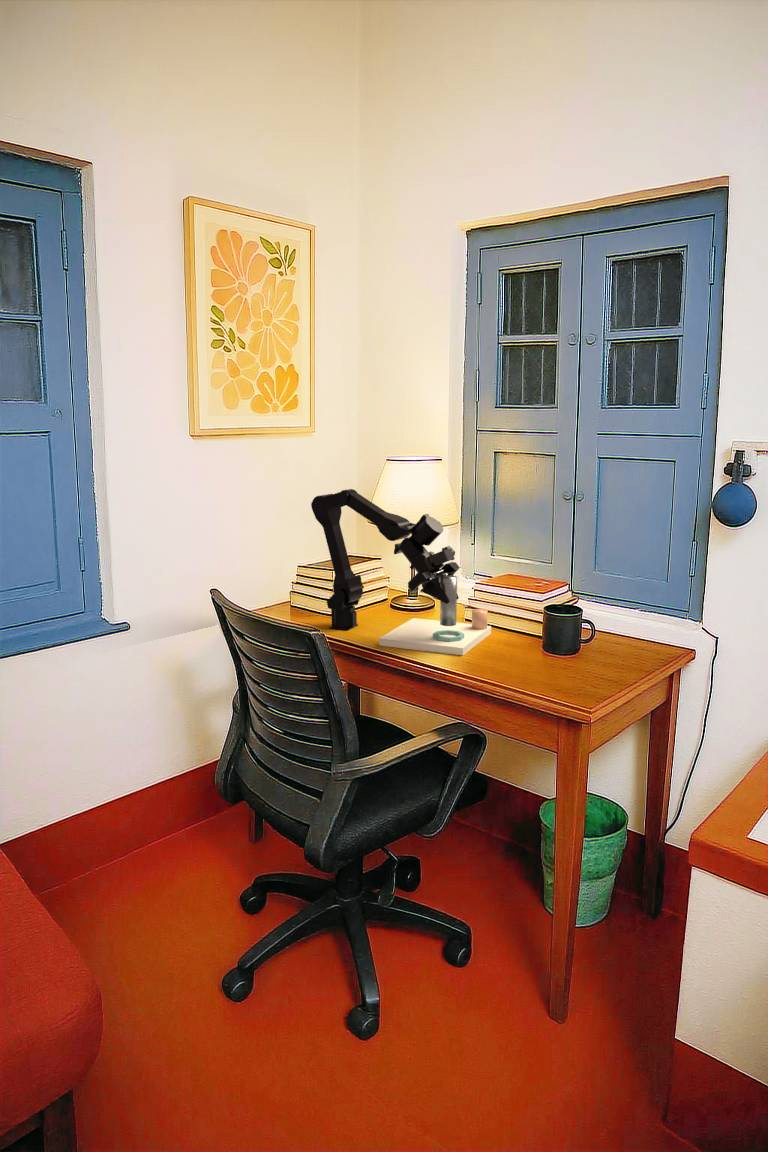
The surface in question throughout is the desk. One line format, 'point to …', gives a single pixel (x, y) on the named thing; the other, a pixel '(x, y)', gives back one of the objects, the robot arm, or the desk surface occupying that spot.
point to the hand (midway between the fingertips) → (452, 601)
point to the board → (434, 637)
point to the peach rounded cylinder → (479, 619)
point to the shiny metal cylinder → (449, 610)
